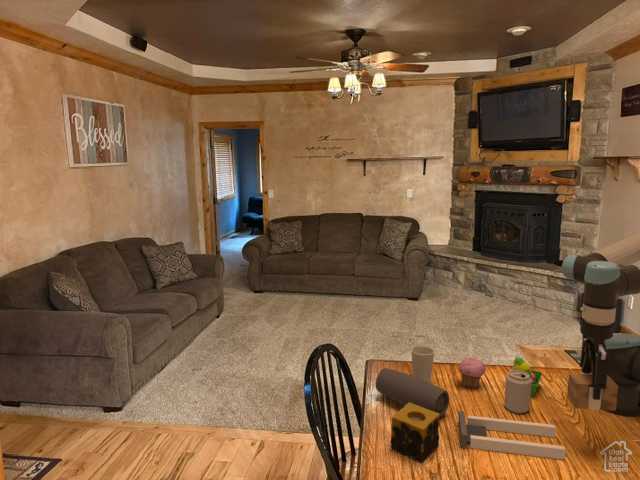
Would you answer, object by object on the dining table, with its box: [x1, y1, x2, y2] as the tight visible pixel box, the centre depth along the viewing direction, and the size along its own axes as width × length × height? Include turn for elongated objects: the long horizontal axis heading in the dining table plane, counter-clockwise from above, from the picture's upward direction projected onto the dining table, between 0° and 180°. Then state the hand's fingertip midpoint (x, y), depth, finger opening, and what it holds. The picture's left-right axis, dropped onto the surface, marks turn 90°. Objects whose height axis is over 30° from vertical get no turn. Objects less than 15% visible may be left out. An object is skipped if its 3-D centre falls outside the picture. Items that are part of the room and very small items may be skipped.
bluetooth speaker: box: [375, 367, 450, 418], centre depth 154 cm, size 23×9×10 cm, turn 44°
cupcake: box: [458, 356, 486, 389], centre depth 168 cm, size 9×9×10 cm
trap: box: [458, 410, 488, 449], centre depth 138 cm, size 8×13×4 cm, turn 167°
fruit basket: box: [513, 356, 543, 398], centre depth 165 cm, size 11×9×11 cm
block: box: [566, 373, 618, 411], centre depth 129 cm, size 10×6×7 cm, turn 81°
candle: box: [390, 403, 440, 463], centre depth 133 cm, size 10×10×10 cm
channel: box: [466, 415, 566, 460], centre depth 136 cm, size 24×12×3 cm, turn 77°
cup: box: [410, 345, 435, 384], centre depth 170 cm, size 8×8×12 cm
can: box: [503, 369, 532, 414], centre depth 152 cm, size 8×8×12 cm
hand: (589, 402), depth 129 cm, fingers closed on block, 6 cm apart
